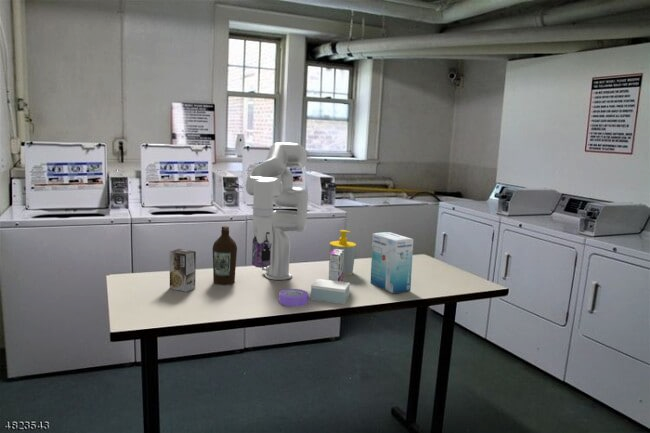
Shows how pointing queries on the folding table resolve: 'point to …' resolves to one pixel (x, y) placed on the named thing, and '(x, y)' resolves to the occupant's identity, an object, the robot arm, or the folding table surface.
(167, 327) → the folding table surface
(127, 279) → the folding table surface
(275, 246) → the robot arm
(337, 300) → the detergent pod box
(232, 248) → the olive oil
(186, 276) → the coffee box
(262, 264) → the beverage can
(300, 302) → the masking tape
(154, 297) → the folding table surface
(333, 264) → the candy bar box
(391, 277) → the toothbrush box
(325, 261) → the folding table surface
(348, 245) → the soap bottle
